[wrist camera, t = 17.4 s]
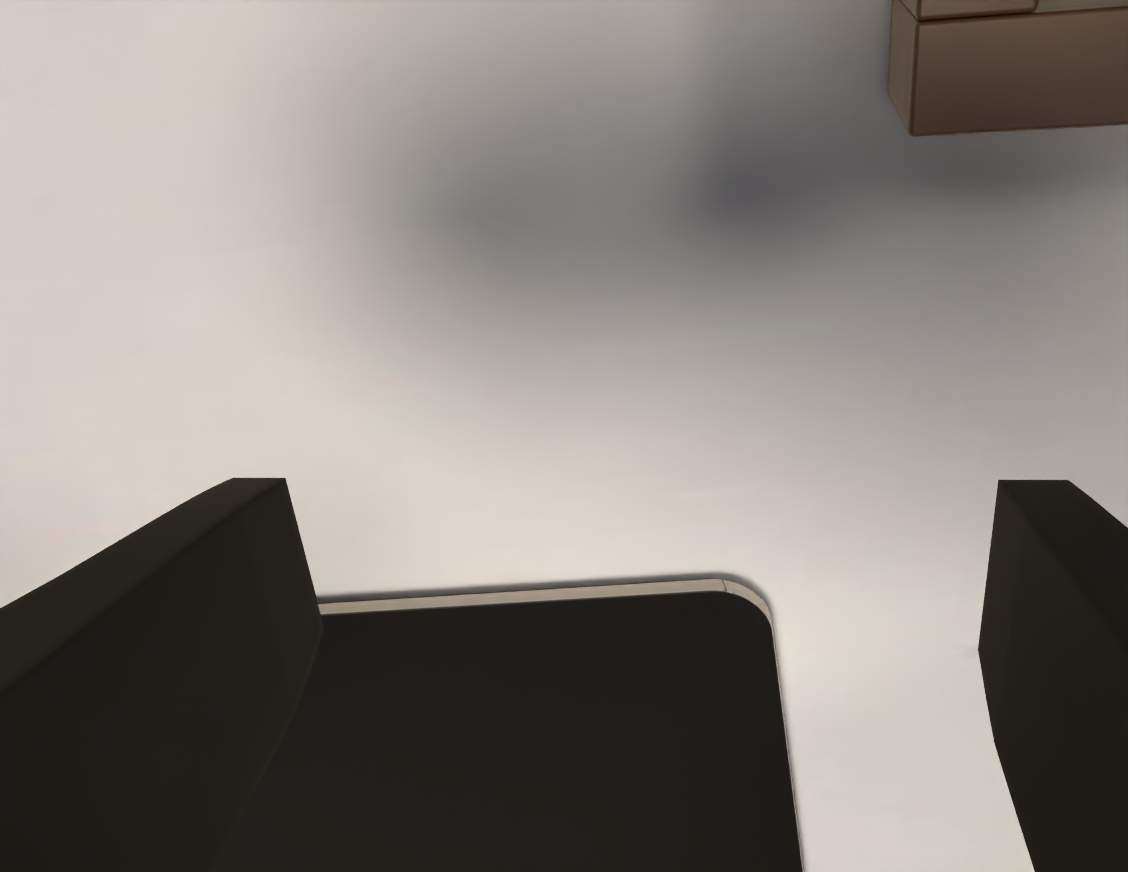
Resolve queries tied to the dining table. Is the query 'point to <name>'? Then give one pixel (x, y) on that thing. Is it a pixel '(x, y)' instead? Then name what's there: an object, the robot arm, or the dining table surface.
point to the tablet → (534, 738)
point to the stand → (1008, 65)
